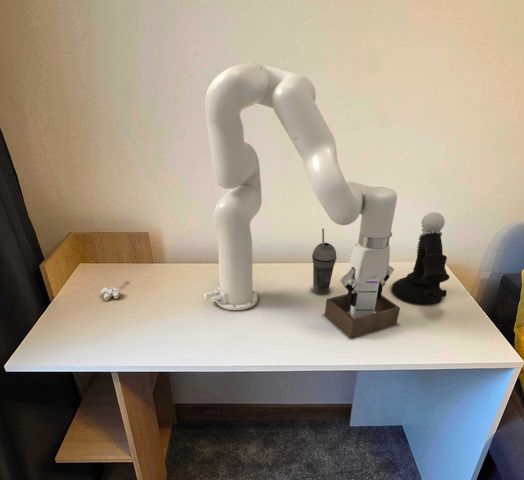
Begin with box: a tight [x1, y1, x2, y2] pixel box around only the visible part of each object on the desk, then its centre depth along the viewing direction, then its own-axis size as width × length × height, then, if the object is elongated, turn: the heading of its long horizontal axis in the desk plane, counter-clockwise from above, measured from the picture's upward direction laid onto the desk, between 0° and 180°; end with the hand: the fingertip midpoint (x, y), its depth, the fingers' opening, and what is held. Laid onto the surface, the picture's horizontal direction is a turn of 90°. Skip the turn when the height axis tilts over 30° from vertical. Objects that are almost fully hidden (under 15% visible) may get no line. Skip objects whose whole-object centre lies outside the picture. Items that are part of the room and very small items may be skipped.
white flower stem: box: [99, 281, 126, 302], centre depth 138 cm, size 6×12×3 cm, turn 179°
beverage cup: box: [311, 228, 337, 295], centre depth 135 cm, size 7×7×20 cm
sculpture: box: [391, 211, 451, 306], centre depth 130 cm, size 15×24×25 cm, turn 0°
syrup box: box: [349, 277, 380, 319], centre depth 124 cm, size 6×6×14 cm
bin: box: [324, 293, 401, 339], centre depth 126 cm, size 16×13×6 cm
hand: (363, 300), depth 124 cm, fingers closed on syrup box, 7 cm apart
